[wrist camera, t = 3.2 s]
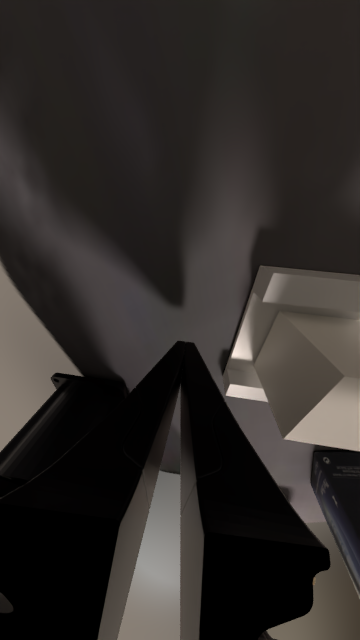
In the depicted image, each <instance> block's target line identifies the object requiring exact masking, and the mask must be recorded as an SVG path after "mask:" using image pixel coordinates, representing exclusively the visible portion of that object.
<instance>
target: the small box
mask: <svg viewBox="0 0 360 640" xmlns="http://www.w3.org/2000/svg"><path fill="white" fill-rule="evenodd" d="M311 486H312V488H313V491H314V493H315V495H316V498H317V500H318V503H319V505H320V507H321V510H322V512H323V514H324V517H325V519H326V521H327V524H328V526H329V528H330V531H331V533H332V535H333V537H334V540H335V542H336V545H337V547H338V549H339V552H340V554H341V556H342V558H343V561H344V563H345V565H346V568H347V570H348V572H349V574H350V577H351V579H352V582H353V584H354V587H355V589H356V591H357V594H358V596H359V598H360V452H315V453H314V461H313V470H312V479H311Z"/></svg>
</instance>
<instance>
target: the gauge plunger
mask: <svg viewBox="0 0 360 640" xmlns="http://www.w3.org/2000/svg"><path fill="white" fill-rule="evenodd" d="M254 368H255V370H256V373H257V375H258V378H259V380H260V382H261V385H262V387H263V390H264V392H265V395H266V397H267V400H268V402H269V405H270V407H271V410H272V412H273V415H274V417H275V420H276V422H277V425H278V427H279V430H280V432H281V435H282V437H283V439H286V440H293V441H299V442H305V443H311V444H317V445H323V446H329V447H336V448H342V449H348V450H354V451H360V320H355V319H346V318H337V317H328V316H319V315H311V314H302V313H293V312H284V311H279V313H278V315H277V317H276V319H275V321H274V324H273V326H272V328H271V330H270V332H269V334H268V336H267V338H266V341H265V343H264V345H263V347H262V349H261V351H260V353H259V355H258V357H257V360H256V362H255V364H254Z"/></svg>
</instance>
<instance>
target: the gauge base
mask: <svg viewBox="0 0 360 640" xmlns="http://www.w3.org/2000/svg"><path fill="white" fill-rule="evenodd" d="M279 311H284V312H293V313H302V314H311V315H319V316H328V317H337V318H346V319H355V320H360V275H354V274H344V273H334V272H323V271H313V270H303V269H292V268H282V267H271V266H261V265H260V267H259V270H258V273H257V276H256V279H255V282H254V285H253V288H252V291H251V294H250V297H249V300H248V303H247V306H246V309H245V312H244V315H243V318H242V321H241V324H240V327H239V329H238V332H237V335H236V338H235V341H234V344H233V347H232V350H231V353H230V356H229V359H228V362H227V365H226V368H225V371H224V374H223V382H224V389H225V395H226V396H232V397H239V398H246V399H253V400H259V401H266V402H268V400H267V397H266V395H265V392H264V390H263V387H262V385H261V382H260V380H259V378H258V375H257V373H256V370H255V368H254V364H255V362H256V360H257V357H258V355H259V353H260V351H261V349H262V347H263V345H264V343H265V341H266V338H267V336H268V334H269V332H270V330H271V328H272V326H273V324H274V321H275V319H276V317H277V315H278V313H279Z"/></svg>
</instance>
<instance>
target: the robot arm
mask: <svg viewBox="0 0 360 640" xmlns="http://www.w3.org/2000/svg"><path fill="white" fill-rule="evenodd" d="M185 345H186V346H185ZM184 353H185V354H184ZM183 361H184V362H183ZM182 369H183V370H182ZM181 377H182V378H181ZM51 380H52V382H53V384H54V386H55V387H56V389H57V390H56V391H55V392H54V393H53V394H52V396H51V397H50V398H49V399H48V400H47V401H46V402H45V403H44V404H43V405H42V407H41V408H40V409H39V410H38V411H37V412H36V413H35V414H34V415H33V416H32V418H31V419H30V420H29V421H28V422H27V423H26V424H25V425H24V427H23V428H22V429H21V430H20V431H19V432H18V433H17V434H16V435H15V436H14V438H13V439H12V440H11V441H10V442H9V443H8V444H7V445H6V446H5V447H4V449H3V450H2V451H1V452H0V640H117V638H118V633H119V629H120V625H121V621H122V617H123V613H124V609H125V605H126V601H127V597H128V593H129V589H130V585H131V581H132V577H133V573H134V569H135V565H136V561H137V557H138V553H139V549H140V545H141V541H142V537H143V533H144V529H145V525H146V521H147V517H148V513H149V509H150V505H151V501H152V497H153V493H154V489H155V485H156V481H157V477H158V473H159V469H160V465H161V461H162V457H163V453H164V449H165V445H166V441H167V437H168V433H169V429H170V425H171V421H172V417H173V413H174V409H175V405H176V401H177V397H178V393H179V389H180V385H181V576H180V577H181V578H180V579H181V580H180V583H181V584H180V585H181V587H180V589H181V590H180V591H181V592H180V598H181V599H180V606H181V608H180V611H181V612H180V617H181V618H180V622H181V624H180V626H181V627H180V630H181V631H180V640H277V639H273V638H271V637H270V636H269V634H268V633H267V631H266V630H268V629H269V628H272V627H275V626H277V625H280V624H283V623H286V622H288V621H291V620H294V619H296V618H299V617H302V616H304V615H306V614H307V613H308V612H309V611H310V610H311V608H312V605H313V578H314V577H315V575H316V574H317V573H319V572H320V571H324V570H328V569H329V568H330V556H329V550H328V549H327V548H326V547H325V546H324V545H323V544H322V543H321V542H320V540H319V539H318V538H317V537H316V536H315V535H314V534H313V532H312V531H311V530H310V529H309V528H308V527H307V525H306V524H305V523H304V521H303V520H302V519H301V518H300V516H299V515H298V514H297V512H296V511H295V510H294V508H293V507H292V506H291V504H290V503H289V501H288V500H287V498H286V497H285V495H284V494H283V492H282V491H281V489H280V488H279V486H278V485H277V483H276V482H275V480H274V479H273V477H272V476H271V474H270V473H269V471H268V470H267V468H266V467H265V465H264V464H263V462H262V460H261V459H260V457H259V456H258V454H257V453H256V451H255V450H254V448H253V447H252V445H251V444H250V442H249V441H248V439H247V438H246V436H245V434H244V433H243V431H242V430H241V428H240V427H239V425H238V423H237V421H236V420H235V418H234V416H233V414H232V413H231V411H230V409H229V407H228V405H227V403H226V402H224V401H225V400H224V398H223V396H222V394H221V392H220V390H219V388H218V387H217V385H216V383H215V381H214V379H213V377H212V375H211V374H210V372H209V370H208V368H207V366H206V364H205V362H204V360H203V359H202V357H201V355H200V353H199V351H198V349H197V347H196V346H195V344H194V343H192V342H184V341H177V342H176V343H175V344H174V345H173V347H172V348H171V349H170V350H169V351H168V352H167V353H166V354H165V355H164V356H163V357H162V359H161V360H160V361H159V362H158V363H157V364H156V365H155V366H154V367H153V368H152V370H151V371H150V372H149V373H148V374H147V375H146V376H145V377H144V378H143V379H142V380H141V382H140V383H139V384H138V385H137V386H136V388H134V389H133V390H132V391H131V392H130V393H129V395H128V396H127V391H126V386H125V385H124V384H123V383H121V382H115V381H109V380H102V379H95V378H89V377H82V376H75V375H69V374H62V373H55V374H54V375H53V376H52V377H51Z"/></svg>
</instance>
